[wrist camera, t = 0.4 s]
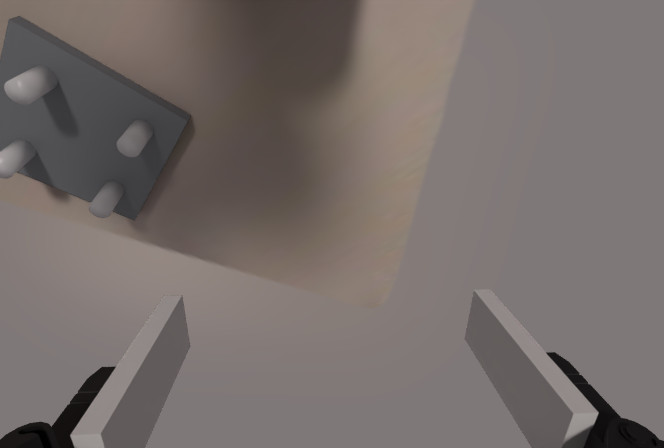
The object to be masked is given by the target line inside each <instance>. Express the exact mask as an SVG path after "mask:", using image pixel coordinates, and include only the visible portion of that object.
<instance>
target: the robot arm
mask: <svg viewBox="0 0 664 448" xmlns="http://www.w3.org/2000/svg"><path fill="white" fill-rule="evenodd" d="M465 340H466V341H467V343H468V345H469V346H470V348H471V350H472V351H473V353H474V355H475V356H476V358H477V359H478V361H479V363H480V364H481V366H482V368H483V369H484V371H485V372H486V374H487V375H488V377H489V379H490V381H491V382H492V384H493V385H494V387H495V388H496V390H497V392H498V393H499V395H500V397H501V398H502V400H503V402H504V403H505V405H506V407H507V408H508V410H509V411H510V413H511V415H512V416H513V418H514V419H515V421H516V423H517V424H518V426H519V428H520V429H521V431H522V433H523V434H524V436H525V437H526V439H527V441H528V442H529V444H530V445H531V447H532V448H664V441H662V440H659V439H658V438H657V437H656V435H655V434H653V433H652V432H651V431H649V430H648V429H647V428H645V427H644V426H642V425H640V424H638V423H636V422H634V421H631V420H628V419H624V418H621V417H620V416H619V415H618V414H617V413H616V412H615V411H614V410H613V409H612V407H611V406H610V405H609V404H608V403H607V402H606V401H605V400H604V399H603V398H602V397H601V396H600V395H599V394H598V392H597V391H596V390H595V389H594V388H593V387H592V386H591V385H589V384H588V382H587V381H586V380H585V379H584V378H583V376H582V375H579V372H578V371H577V370H576V369H575V368H574V367H573V366H572V365H571V364H570V363H569V362H568V361H567V360H565V359H564V358H562V357H561V356H559V355H558V354H556V353H555V352H553V353H546V352H545V351H544V350H543V349H542V348H541V347H540V346H539V345H538V344H537V342H536V341H535V340H534V339H533V338H532V337H531V335H530V334H529V333H528V332H527V331H526V330H525V329H524V328H523V326H521V324H520V323H519V322H518V321H517V320H516V319H515V317H514V316H513V315H512V314H511V313H510V312H509V311H508V309H507V308H506V307H505V306H504V305H503V304H502V303H501V302H500V300H499V299H498V298H497V297H496V296H495V295H494V294H493V292H492V291H491V290H474V293H473V298H472V303H471V309H470V314H469V319H468V324H467V329H466V335H465ZM189 347H190V342H189V336H188V330H187V323H186V318H185V311H184V304H183V297H182V295H173V296H164V297H163V298H162V300H161V301H160V303H159V304H158V306H157V307H156V308H155V310H154V311H153V313H152V314H151V316H150V317H149V319H148V320H147V322H146V323H145V325H144V327H143V328H142V329H141V331H140V332H139V334H138V335H137V337H136V338H135V340H134V341H133V343H132V344H131V346H130V347H129V349H128V350H127V352H126V353H125V355H124V356H123V357H122V359H121V361H120V362H119V364H118V365H117V366H116V367H101V368H100V369H99V370H98V371H96V372H95V373H94V374H93V375H91V376H90V377H89V378H88V379H87V380H86V381H85V383H84V384H83V385H82V387H81V388H80V390H79V391H78V394H76V395H75V396H74V397H73V399H72V400H71V401H70V404H69V405H67V407H66V408H65V410H64V411H63V412H62V414H61V415H60V416H59V418H58V419H57V420H56V422H55V423H54V424H53V426H52V427H51V426H50V425H49V424H48V423H44V422H36V423H29V424H27V425H24V426H21V427H19V428H17V429H15V430H13V431H12V432H10V433H8V434H6V435H5V436H4V437H3V438H2V439H1V440H0V448H145V446H146V444H147V442H148V439H149V437H150V435H151V433H152V431H153V428H154V426H155V424H156V422H157V419H158V417H159V415H160V413H161V410H162V408H163V406H164V404H165V401H166V399H167V397H168V395H169V392H170V390H171V388H172V386H173V383H174V381H175V379H176V377H177V374H178V372H179V370H180V367H181V365H182V363H183V361H184V359H185V356H186V354H187V352H188V350H189Z"/></svg>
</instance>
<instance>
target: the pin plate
mask: <svg viewBox="0 0 664 448" xmlns="http://www.w3.org/2000/svg"><path fill="white" fill-rule="evenodd" d="M190 117H191V115H190V114H188V113H186V112H184V111H183V110H181V109H179V108H177V107H176V106H174V105H172V104H171V103H169V102H167V101H165V100H164V99H162V98H160V97H158V96H157V95H155V94H153V93H152V92H150V91H148V90H146V89H145V88H143V87H141V86H140V85H138V84H136V83H134V82H133V81H131V80H129V79H127V78H126V77H124V76H122V75H121V74H119V73H117V72H115V71H114V70H112V69H110V68H108V67H107V66H105V65H103V64H102V63H100V62H98V61H96V60H95V59H93V58H91V57H89V56H88V55H86V54H84V53H83V52H81V51H79V50H77V49H76V48H74V47H72V46H71V45H69V44H67V43H65V42H64V41H62V40H60V39H58V38H57V37H55V36H53V35H52V34H50V33H48V32H46V31H45V30H43V29H41V28H39V27H38V26H36V25H34V24H33V23H31V22H29V21H27V20H26V19H24V18H22V17H20V16H18V17H15V18H12V19H9V21H8V26H7V31H6V35H5V40H4V45H3V50H2V54H1V59H0V178H10V177H11V176H13V175H14V174H15V173H16V172H19V173H21V174H24V175H26V176H29V177H31V178H33V179H36V180H38V181H41V182H43V183H45V184H48V185H50V186H53V187H55V188H57V189H60V190H62V191H65V192H67V193H69V194H72V195H74V196H77V197H79V198H81V199H84V200H86V201H89V202H91V204H90V205H89V210H90V212H91V213H92V214H93V215H95V216H97V217H100V218H106V217H108V216H109V215H110V214H111V212H112V211H113V212H115V213H118V214H120V215H122V216H125V217H127V218H130V219H132V220H134V221H135V219H136V217H137V215H138V213H139V212H140V210H141V208H142V206H143V204H144V202H145V200H146V199H147V197H148V195H149V193H150V191H151V189H152V187H153V186H154V184H155V182H156V180H157V178H158V176H159V174H160V173H161V171H162V169H163V167H164V165H165V163H166V161H167V160H168V158H169V156H170V154H171V152H172V150H173V148H174V146H175V145H176V143H177V141H178V139H179V137H180V135H181V133H182V132H183V130H184V128H185V126H186V124H187V122H188V120H189V119H190Z"/></svg>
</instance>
